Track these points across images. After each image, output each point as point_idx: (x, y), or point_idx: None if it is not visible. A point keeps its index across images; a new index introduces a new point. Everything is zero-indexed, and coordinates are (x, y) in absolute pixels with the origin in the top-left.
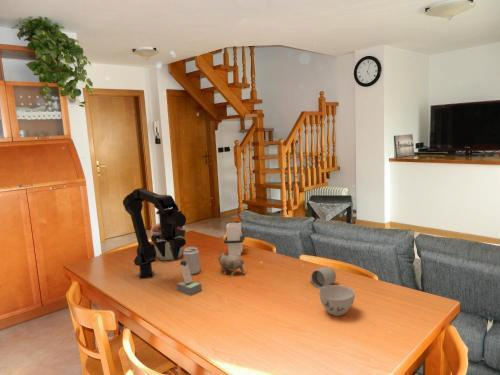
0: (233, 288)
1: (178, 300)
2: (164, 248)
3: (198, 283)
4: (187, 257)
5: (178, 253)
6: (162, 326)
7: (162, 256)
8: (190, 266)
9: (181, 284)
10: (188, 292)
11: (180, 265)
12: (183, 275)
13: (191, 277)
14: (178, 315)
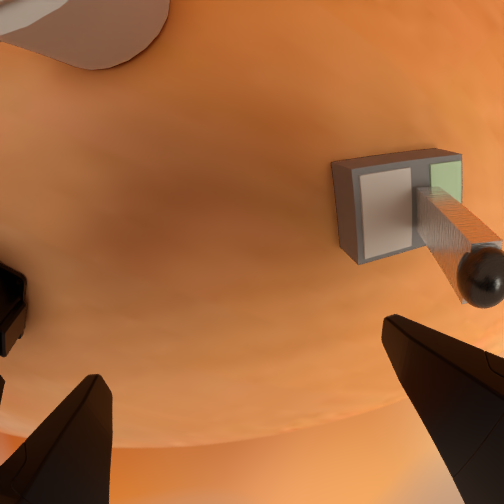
0: (491, 46)
1: (426, 285)
2: (58, 464)
3: (455, 164)
4: (92, 9)
5: (479, 354)
6: None
7: (105, 401)
8: (141, 23)
9: (395, 248)
10: None
11: (466, 302)
12: (437, 255)
13: (448, 196)
14: (482, 319)
